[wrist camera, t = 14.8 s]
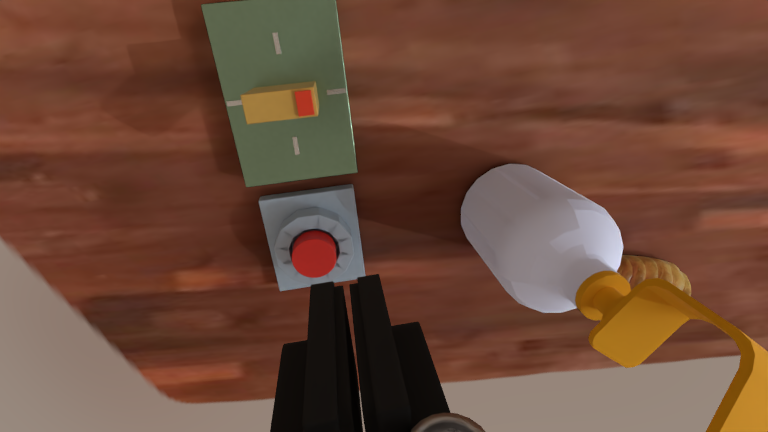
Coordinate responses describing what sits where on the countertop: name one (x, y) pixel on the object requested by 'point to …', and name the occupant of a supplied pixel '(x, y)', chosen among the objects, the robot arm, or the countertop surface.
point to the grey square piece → (306, 213)
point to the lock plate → (278, 67)
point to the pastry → (652, 271)
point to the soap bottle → (595, 279)
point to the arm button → (314, 254)
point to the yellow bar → (280, 102)
